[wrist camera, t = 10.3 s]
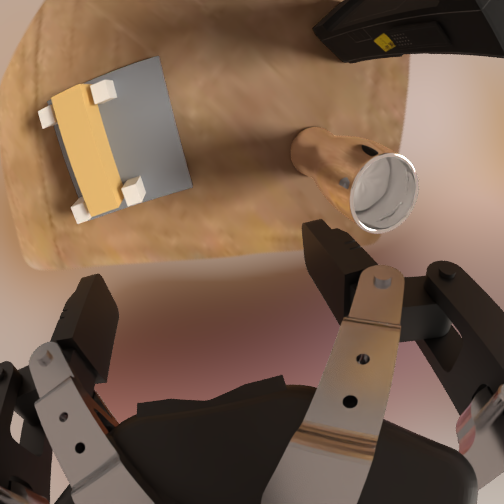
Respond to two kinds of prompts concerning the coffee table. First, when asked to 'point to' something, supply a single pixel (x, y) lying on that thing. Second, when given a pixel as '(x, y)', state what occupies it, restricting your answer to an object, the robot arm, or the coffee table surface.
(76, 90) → the bar
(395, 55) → the portable radio
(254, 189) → the coffee table surface
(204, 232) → the coffee table surface
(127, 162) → the board
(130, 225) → the coffee table surface
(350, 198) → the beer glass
